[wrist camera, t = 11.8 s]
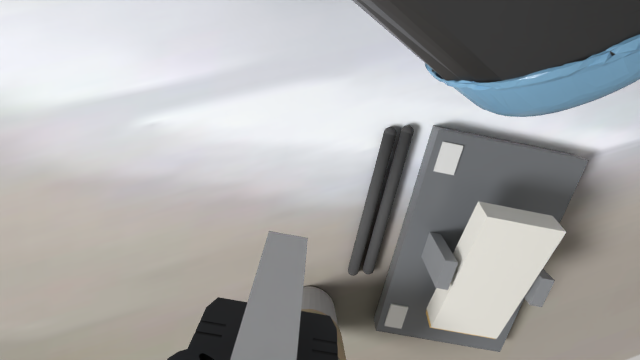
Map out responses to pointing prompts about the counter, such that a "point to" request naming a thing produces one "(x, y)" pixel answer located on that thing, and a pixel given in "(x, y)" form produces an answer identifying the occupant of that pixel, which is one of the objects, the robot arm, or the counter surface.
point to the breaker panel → (453, 215)
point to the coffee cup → (322, 310)
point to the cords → (374, 196)
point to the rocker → (493, 269)
